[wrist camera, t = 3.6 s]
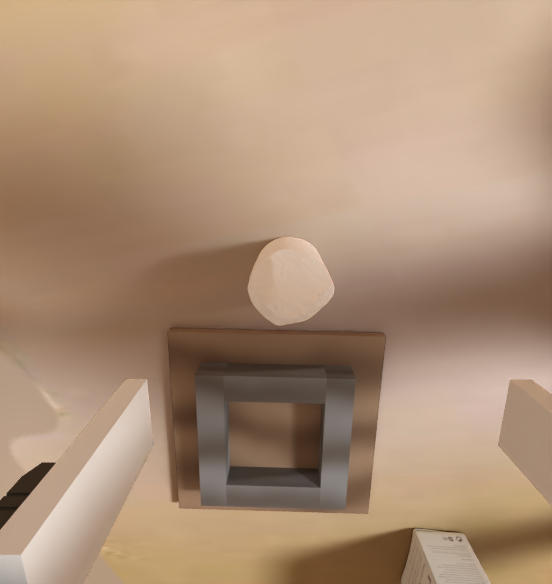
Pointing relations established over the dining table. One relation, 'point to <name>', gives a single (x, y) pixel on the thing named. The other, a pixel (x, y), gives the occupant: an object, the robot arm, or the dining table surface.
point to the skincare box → (442, 560)
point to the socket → (275, 418)
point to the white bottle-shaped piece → (289, 281)
